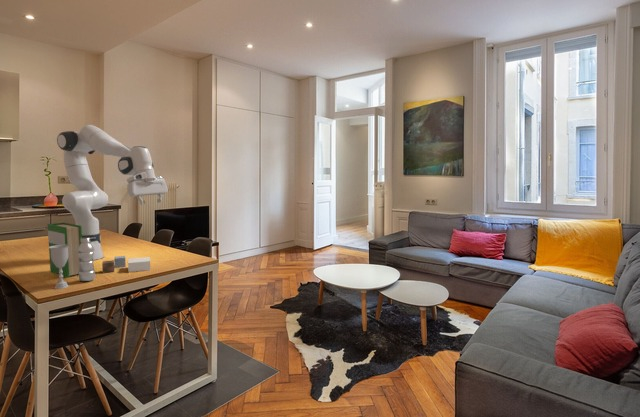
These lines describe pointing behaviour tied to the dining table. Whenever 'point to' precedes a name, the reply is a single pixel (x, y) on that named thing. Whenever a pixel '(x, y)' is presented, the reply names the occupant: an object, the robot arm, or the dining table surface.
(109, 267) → the walnut cube
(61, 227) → the hardback book
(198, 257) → the dining table surface
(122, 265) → the blue-grey cube
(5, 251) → the dining table surface
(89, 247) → the plastic bottle
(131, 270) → the base block
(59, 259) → the chalice
